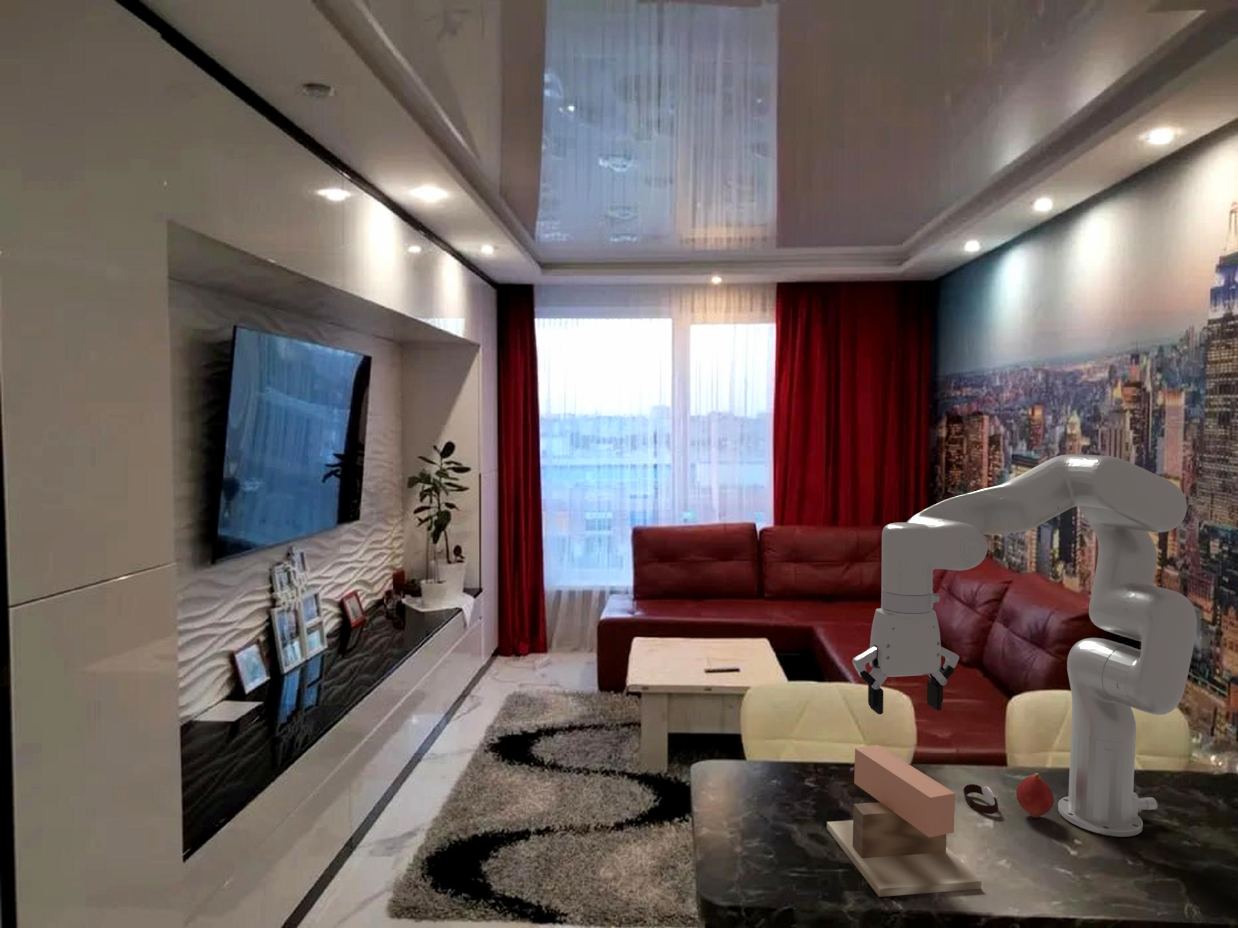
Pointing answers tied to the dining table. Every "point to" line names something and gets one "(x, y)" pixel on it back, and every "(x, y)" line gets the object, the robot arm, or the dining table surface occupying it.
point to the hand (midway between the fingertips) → (905, 709)
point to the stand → (899, 854)
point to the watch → (986, 793)
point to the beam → (905, 790)
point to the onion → (1034, 796)
